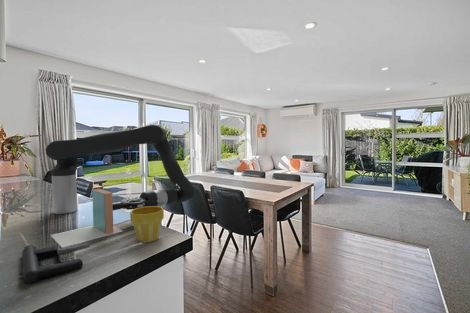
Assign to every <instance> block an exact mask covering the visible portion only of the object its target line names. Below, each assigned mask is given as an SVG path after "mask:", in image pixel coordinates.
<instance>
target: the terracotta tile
mask: <svg viewBox="0 0 470 313" xmlns="http://www.w3.org/2000/svg"><path fill="white" fill-rule="evenodd" d="M91 192H92V218H93V220H92V222H93V226H94V227H95V228H97V229H99V230H100V231H102V232H103V233H105V234H109V233H112V232H113V226H114V210H113V204H114V203H113V201H114V200H113V191H109V190H106V189H102V188H94V189H92V190H91Z"/></svg>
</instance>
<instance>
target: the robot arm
mask: <svg viewBox="0 0 470 313" xmlns="http://www.w3.org/2000/svg"><path fill="white" fill-rule="evenodd" d="M149 144H150V145H152V146H153V147H154V149H155V150H156V152H157V153H158V155H159V157H160V160H161V163H162V165H163V168H164V171H165V174H166V176H167V177H168V179H169V181H170V183H171V184H172V185H177V186H178V188H176V189H175V188H165V189H164V188H163V189H155V190H149V191H143V192H141V194H140V195H139V197H138V196H134V197H125V198H124V199H122V200H119V202H114V203H113V211H118V210H134V209H136V208H140V207H147V206H159V207H162V208H163V207H164V206H168V205H172V204H182V203H185V202H187V201H189V200H192V199H194V198H195V196H196V187H195V186H194V185H193V183H192V182H191V181H190V180H189V179H188V178H187V177H186V176H185V174H184V171H183V170H182V168H181V166H180V164H179V162H178V159H177V158H176V156H175V155H174V153H173V151H172V149H171V146H170V143H169V140H168V137H167V134H166V130H164V128H162V127H161V126H160V125H157V124H149V125H145V126H144V125H143V126H141V127H137V128H134V129H126V130H118V131H108V132H101V133H98V134H93V135H88V136H84V137H80V138H75V139H64V140H63V139H62V140H60V139H58V140H57V139H56V140H54V141H52V142H49V143H48V144H47V146H46V148H45V154H46V156H47V157H48V158H49V159H51V160H54V161H56V164H55V166H54V167H53V168H52V169H51V189H52V190H51V192H52V193H51V194H52V195H51V196H52V213H53V214H54V215H63V214H70V213H74V212H77V211H78V193H77V169H78V166H79V162H78V161H79V156H83V155H84V156H85V155H98V154H99V155H101V154H108V153H114V152H119V151H122V150H125V149H128V148H130V147H133V146H137V145H149Z"/></svg>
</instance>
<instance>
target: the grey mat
mask: <svg viewBox="0 0 470 313" xmlns="http://www.w3.org/2000/svg"><path fill="white" fill-rule="evenodd" d="M121 232H123V230H122V229H121V228H119V227H117V226H115V225H113V232H112V233H109V234H105V233H103V232H102V231H100V230H99V229H97V228H95V227H94V226H93V225H89V226H85V227H79V228H75V229H71V230H65V231H63V232H59V233H52V234H50V237H51V238H52V239H53V240H54V241H55V242H56V243H57V244H58V245H59V246H60V248H64V247H69V246H75V245H79V244H81V243H82V244H83V243H87V242H89V241H92V240H96V239H99V238H103V237H104V238H105V237H107V236H112V235H114V234H115V235H116V234H118V233H121Z"/></svg>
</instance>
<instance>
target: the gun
mask: <svg viewBox="0 0 470 313" xmlns="http://www.w3.org/2000/svg"><path fill="white" fill-rule="evenodd" d="M57 247H58V246H56V245H55V246H50V247H45V248H39V249H37V247H35V245H33V244H29V245H26V246H25V247H24V248H23V249H22V252H21V254H22V272H21V273H19V274H18V276H20V275H22V277H20V278H19V280H21V279H23V281H24V283H25V284H26V283H27V284H33V283H35V282H37V281H39V280H42V279H47V278H50V277H54V276H58V275H59V276H60V275H62V274H66V273H70V272H74V271H78V270H80V269H82V267H83V264H84V263H83V260H82V259H80V258H75V259H70V260H66V261H62V259H61V254H66V253H69V252H74V251H78V250H81V249H85V248H89V247H90V243H89V242H84V243H82V244H81V243H79V244H75V245H71V246H67V247H64V248H62V247H60V248H57ZM18 254H20V252H18ZM52 257H56V259H57V262H58V263H50V264H48V265H44V266H40V263H41V262H42V260H45V259H49V258H52Z"/></svg>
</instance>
